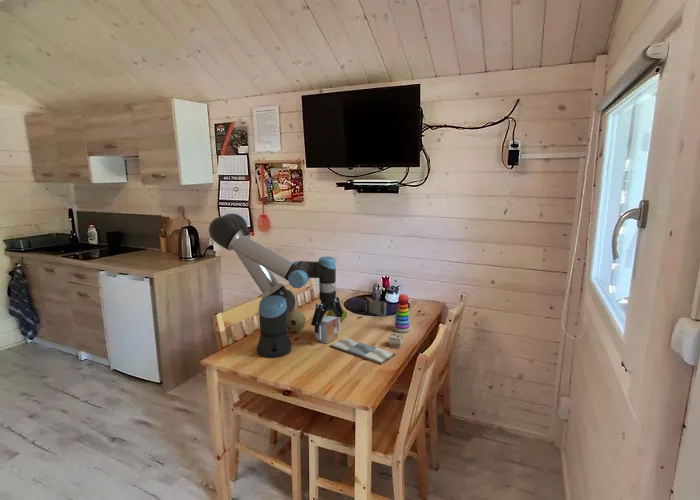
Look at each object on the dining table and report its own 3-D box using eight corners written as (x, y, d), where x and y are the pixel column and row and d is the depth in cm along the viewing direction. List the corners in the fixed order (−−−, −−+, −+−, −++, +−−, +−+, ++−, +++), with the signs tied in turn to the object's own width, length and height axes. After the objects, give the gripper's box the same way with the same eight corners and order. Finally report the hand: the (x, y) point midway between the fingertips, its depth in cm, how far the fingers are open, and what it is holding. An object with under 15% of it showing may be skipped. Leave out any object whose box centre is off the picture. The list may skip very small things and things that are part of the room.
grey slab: (365, 313, 229) (365, 296, 228) (367, 312, 232) (367, 295, 230) (383, 317, 224) (384, 300, 222) (386, 315, 227) (386, 298, 225)
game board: (381, 364, 170) (381, 362, 170) (329, 346, 187) (329, 344, 187) (395, 355, 179) (395, 353, 179) (344, 338, 196) (344, 336, 195)
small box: (327, 344, 190) (326, 322, 188) (317, 341, 193) (317, 319, 191) (338, 338, 196) (338, 317, 194) (329, 335, 199) (328, 314, 197)
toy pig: (278, 334, 201) (277, 313, 199) (292, 325, 211) (292, 305, 209) (295, 338, 196) (294, 316, 194) (309, 329, 207) (308, 309, 205)
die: (399, 348, 185) (400, 338, 184) (389, 347, 187) (389, 336, 186) (402, 344, 190) (403, 334, 189) (392, 342, 192) (392, 332, 191)
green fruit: (324, 324, 213) (324, 309, 212) (328, 318, 221) (328, 304, 219) (344, 326, 211) (344, 311, 209) (348, 320, 218) (348, 306, 216)
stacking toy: (391, 331, 204) (392, 295, 200) (397, 326, 211) (398, 290, 207) (406, 334, 200) (407, 297, 197) (412, 328, 207) (413, 292, 204)
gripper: (315, 299, 178) (316, 345, 182) (350, 285, 197) (350, 327, 201) (302, 295, 182) (303, 340, 187) (338, 283, 202) (338, 324, 206)
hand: (328, 334), depth 194 cm, fingers open, 13 cm apart
